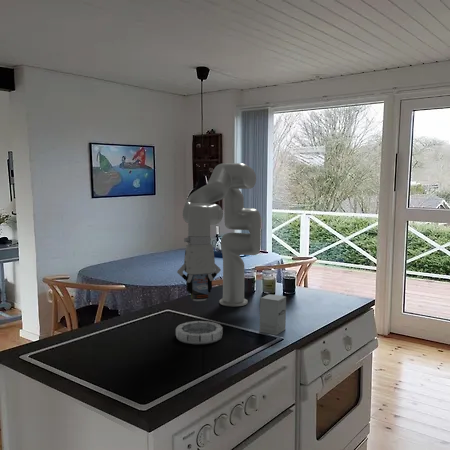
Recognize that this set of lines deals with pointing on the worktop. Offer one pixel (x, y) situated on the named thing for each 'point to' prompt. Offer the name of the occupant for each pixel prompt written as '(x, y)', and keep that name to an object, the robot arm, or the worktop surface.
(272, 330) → the supplement box
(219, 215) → the robot arm
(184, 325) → the grey segmented ring
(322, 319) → the worktop surface
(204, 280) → the beverage can
